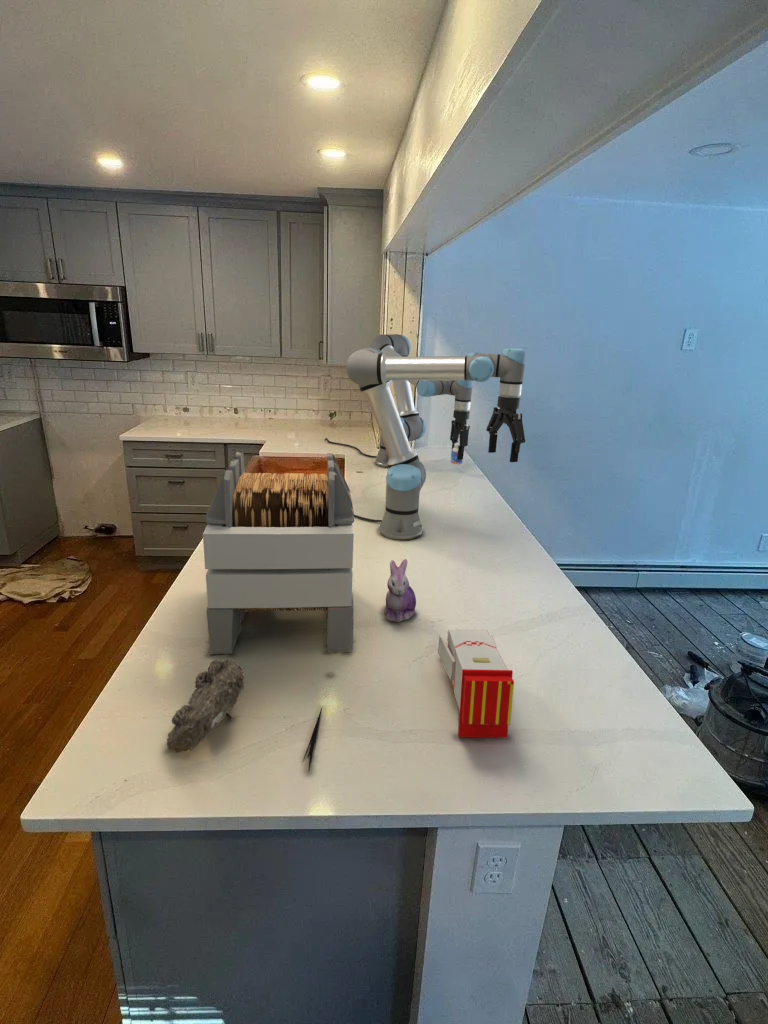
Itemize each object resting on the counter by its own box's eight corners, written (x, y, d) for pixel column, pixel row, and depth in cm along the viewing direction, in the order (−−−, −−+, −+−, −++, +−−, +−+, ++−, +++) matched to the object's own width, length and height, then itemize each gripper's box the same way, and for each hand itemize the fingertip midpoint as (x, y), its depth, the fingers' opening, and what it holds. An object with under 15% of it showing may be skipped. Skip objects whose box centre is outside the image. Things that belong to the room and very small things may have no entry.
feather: (331, 679, 122) (336, 673, 122) (307, 777, 96) (313, 769, 95) (324, 675, 122) (329, 669, 121) (298, 772, 95) (304, 764, 95)
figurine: (392, 627, 141) (395, 572, 136) (374, 608, 149) (376, 556, 144) (425, 619, 145) (429, 566, 140) (405, 601, 154) (408, 550, 149)
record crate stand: (229, 585, 158) (221, 442, 144) (346, 584, 161) (350, 444, 148) (206, 656, 126) (193, 481, 112) (353, 652, 130) (358, 483, 116)
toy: (488, 613, 130) (523, 677, 101) (484, 667, 133) (517, 744, 104) (435, 612, 130) (455, 676, 101) (432, 666, 133) (451, 743, 103)
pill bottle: (454, 465, 272) (456, 445, 269) (448, 462, 277) (450, 442, 273) (464, 464, 274) (466, 445, 271) (458, 461, 279) (460, 442, 275)
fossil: (192, 660, 117) (244, 628, 112) (224, 691, 120) (276, 661, 115) (142, 746, 98) (202, 712, 93) (182, 779, 101) (242, 748, 96)
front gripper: (541, 401, 183) (532, 465, 190) (498, 390, 204) (492, 448, 211) (521, 402, 180) (513, 466, 187) (480, 390, 201) (474, 449, 209)
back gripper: (479, 413, 260) (473, 462, 268) (459, 406, 276) (454, 452, 284) (464, 413, 257) (459, 463, 265) (445, 406, 273) (441, 453, 281)
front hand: (502, 457), depth 199 cm, fingers open, 13 cm apart
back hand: (457, 457), depth 274 cm, fingers closed on pill bottle, 5 cm apart
